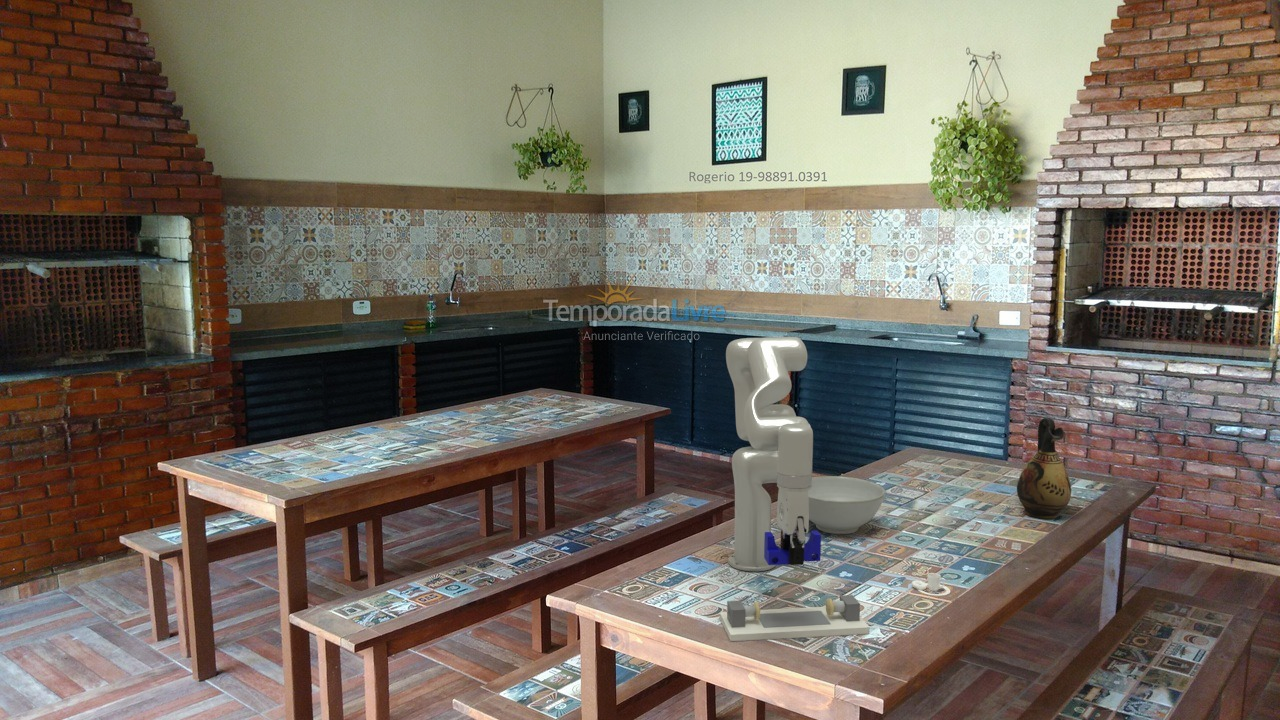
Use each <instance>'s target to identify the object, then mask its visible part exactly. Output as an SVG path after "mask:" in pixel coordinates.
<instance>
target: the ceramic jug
mask: <svg viewBox="0 0 1280 720" xmlns="http://www.w3.org/2000/svg"><path fill="white" fill-rule="evenodd" d="M1037 428H1038V429H1037V452H1036V453H1035V454H1034V456H1033V457H1032V458H1031V459H1030V460H1029V461H1028V463H1026V465H1025V466H1024V468H1023V469H1022V471H1021V472H1020V475H1019V478H1018V479H1017V480H1018V481H1017V483H1016V493H1017V497H1018V500H1019V502H1020V504H1021V505H1022V506H1023V508H1024V513H1025V514H1026V515H1027V516H1028V517H1030V518H1035V519H1036V518H1037V519H1039V520H1050V519H1051V520H1052V519H1053V520H1054V519H1056V518H1057V516H1058V515H1059V514H1060V512H1062V510H1064V508H1066V507H1067V506H1068V505H1069V503H1070V500H1071V497H1072V484H1071V483H1072V482H1071V479H1070V476H1069V473H1068V471H1067V469H1066V466H1065V464H1064V463H1063V461H1062V459H1061V457H1060V456H1059V455H1058V452H1057V450H1056V445H1055V444H1056V441H1060V440H1063V439H1064V437H1065V432H1064V429H1063V428H1062V427H1057V428H1056V424H1055V421H1054V419H1053V418H1051V417H1043V418H1042V419H1041V420H1039V423H1038V427H1037Z"/></svg>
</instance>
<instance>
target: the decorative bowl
mask: <svg viewBox="0 0 1280 720" xmlns="http://www.w3.org/2000/svg"><path fill="white" fill-rule="evenodd" d="M885 496H886V490H885V488H884V487H883V486H882V485H880V484H878V483H876V482H873V481H870V480H867V479H861V478H856V477H851V476H850V477H849V476H837V475H836V476H835V475H834V476H833V475H826V476H812V488H811V489H809V490H808V498H809V522H811V523H813V524H815V527H816V528H817V529H818V530H819V531H821V532H824V533H827V534H832V535H833V534H834V535H847V534H848V535H849V534H855V533H856V532H858V531H859V528H860V527H862V526H864V525H865V524H867V523H868V522H870V520H872V519H873V518H874V517H875V515H877V513H878V511H879V510H880V508H881V506H882V504H883V502H884V500H885V499H884V498H885Z"/></svg>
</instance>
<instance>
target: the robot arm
mask: <svg viewBox="0 0 1280 720" xmlns="http://www.w3.org/2000/svg"><path fill="white" fill-rule="evenodd" d="M725 360H726V361H725V362H726V367H727V370H728V373H729V376H730V379H731V381H732V384H733V389H734V408H735V427H736V433H737V436H738V437H739V439H740V440H743V441H746V442H749V444H750V446H745V447H741V448H738V449H737V450H735V452H734V453H732V454H733V455H732V457H731V469H732V474H733V475H732V477H733V482H734V536H733V537H734V542H733V543H734V547H733V549H734V553H732V554H730V555H729V556H728V558H727V559H728V560H727V561H728V562H727V563H728V564H729V566H731V567H732V568H734V569H736V570H739V571H744V572H765V571H769V570H772V569H774V568H775V567H776V566H777V565H768V563H767V562H766V560H765V558H764V541H765V532H772V499H771V495H770V494H769V493H768V491H767V490H766V489H765V488H764V487H763V486H762V485H763V484H771V483H774V484H775V483H776V487H778V492H777V493H778V494H777V505H776V506H777V507H776V524H777V525H778V527H779V528H780V530H781V529H782V530H783V538H785V539H783V550H787V551H789V564H788V565H790V566H799V565H800V566H801V565H804V563H805V561H804V541H805V542H806V535H807V534H808V533H809V528H810V523H809V522H810V520H809V498H808V490H809V489H811V488H812V477H813V454H814V432H813V428H812V427H811V424H810V423H809V422H808V420H807V419H806V418H805V417H802V416H797V415H796V412H795V410H794V408H793V407H792V406H791V405H788V404H782V403H781V404H778V402H780V401H781V400H784V399H785V398H786V397H787V396H788V395H789V394H790V392H791V390H792V380H791V378H790V375H789V372H801V371H803V370H804V369H805V368H806V366H807V362H808V351H807V347H806V345H805V343H804V342H803V341H802V339H801V338H800V337H795V336H773V337H772V336H771V337H770V336H769V337H746V338H739V339H738V338H737V339H734V340H732V341H730V342H729V343H728V345H727V347H726V351H725ZM775 403H777V404H775ZM796 531H797V532H798V533H796ZM796 536H798V537H797V538H796Z"/></svg>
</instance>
